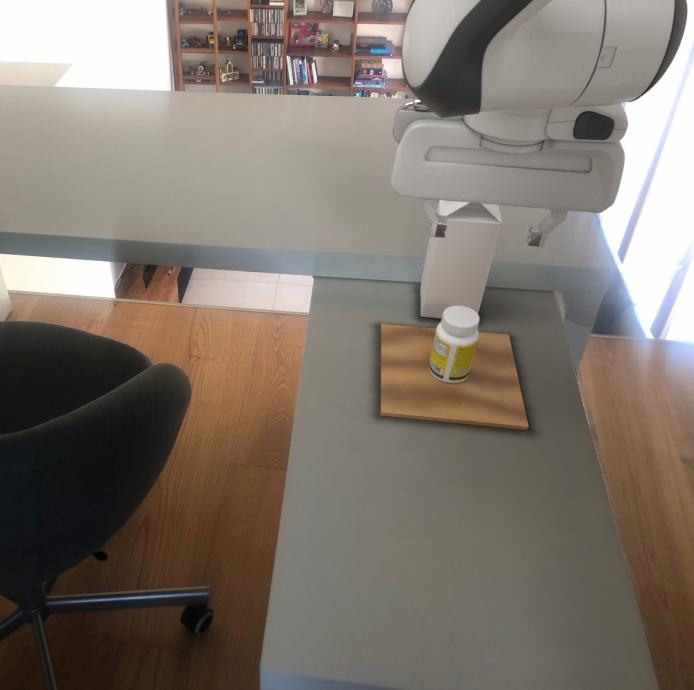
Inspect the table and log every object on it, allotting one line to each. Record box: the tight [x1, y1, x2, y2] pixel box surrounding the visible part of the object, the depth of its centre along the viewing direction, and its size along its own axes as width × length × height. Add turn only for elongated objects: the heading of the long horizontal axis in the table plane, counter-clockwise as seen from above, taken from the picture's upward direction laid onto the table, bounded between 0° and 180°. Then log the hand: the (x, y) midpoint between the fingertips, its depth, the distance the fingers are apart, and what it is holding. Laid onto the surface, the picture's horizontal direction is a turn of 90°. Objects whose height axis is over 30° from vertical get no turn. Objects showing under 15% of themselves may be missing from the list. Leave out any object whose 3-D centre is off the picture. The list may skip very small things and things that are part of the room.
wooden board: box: [380, 323, 530, 431], centre depth 83 cm, size 16×16×1 cm
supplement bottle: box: [429, 306, 480, 383], centre depth 80 cm, size 5×5×8 cm
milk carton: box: [419, 200, 503, 319], centre depth 88 cm, size 7×7×19 cm
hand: (485, 239), depth 70 cm, fingers open, 8 cm apart
